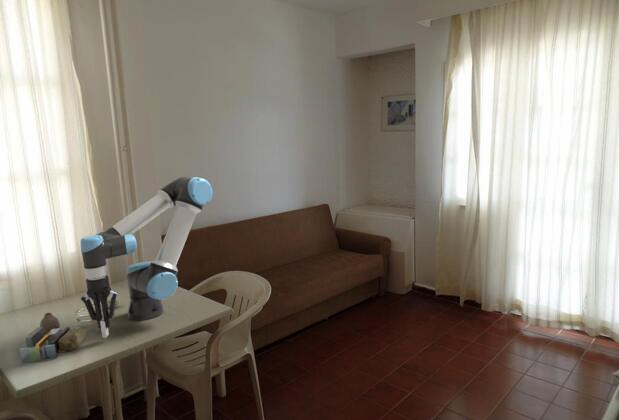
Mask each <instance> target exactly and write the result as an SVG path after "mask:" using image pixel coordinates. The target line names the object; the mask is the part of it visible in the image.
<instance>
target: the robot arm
mask: <svg viewBox="0 0 619 420" xmlns="http://www.w3.org/2000/svg"><path fill="white" fill-rule="evenodd" d="M213 193H214V192H213V188H212V185H211V183H210V181H208V180H207V179H205V178H203V177H199V176H196V177H195V176H194V177H188V176H187V177H185V176H182V177H179V178H176V179H174V180H172V181H170V182H169V183H168V184H166V185H165V186H164V187H162V188H161V189H159V190H158V191H157V194H156V195H155V196H153V197H152V198H150V199H149V200H148V201H146V202H145V203H143V204H142V205H140V206H139V207H137V208H136V209H135V210H133V211H132V212H131V213H129V214H128V215H126V216H125V217H123V218H122V219H121V220H119V221H118V222H116V223H115V224H113V225H112V226H111V227H108V229H107V230H105V231H100V232H99V231H98V232H97V233H95V234H93V235H88V236H84V237H82V238H81V239H80V252H81V256H82V261H83V262H82V263H83V268H84V270H83V271H84V276H85V279H86V280H85V282H86V290H87V291H86V293H85V295H83V296H82V297H80V300H81V301H82V302H83V304H84V305H85V308H86V310H87V312H88V315H89V316H90V319H91V320H92V321H96V322H97V327H98V329H99V330H100V331H101V336H102V338H103V339H104V338H108V336H109V334H110V333H109V328H110V327H111V323H110V322H111V321H110V319H112V318H113V317H114V316H115V308H116V302H117V301H116V300H117V297H118V295H119V292H118V291H113V290H112V288H111V286H110V281H109V276H108V266H107V259H112V258H117V257H120V256H126V255H130V254H133V253H135V252H136V251H137V247H138V242H137V239H136V237H135V235H134V233H137V232H138V231H140V229H142V228H143V227H145V226H146V225H147V224H149V222H151V221H153V219H155V218H157V217H158V216H159V215H160V214H162V213H164V211H166V210H167V209H172V208H174V207H175V206H176V208H175V211H174V214H173V216H172V219H171V221H170V224H169V227H168V229H167V231H166V235H165V237H164V238H163V241H162V243H161V246H160V249H159V251H158V254H157V256H156V258H155V259H154V260H151V261H150V260H148V261H143V262H137V263H134V264H130V265H129V266H127V267H126V271H125V272H126V274H125V275H126V279H127V280H126V281H127V287H128V294H129V303H128V309H127V318H128V320H131V321H146V320H150V319H154V318H157V317H159V316H160V315H162V314H163V313H164V312H165V307H164V303H163V302H162V300H167V299H168V298H170V297H171V296H173V295H174V293H176V290H177V289H178V287H179V286H178V285H179V281H178V277H177V275H178V273H179V272H178V271H179V270H178V267H177V264H178V261H179V259H180V257H181V254H182V252H183V249H184V247H185V243H186V241H187V239H188V236H189V233H190V231H191V229H192V226H193V224H194V221H195V218H196V217H197V214H199V213H201V212H202V210H203V207H204V205H207V204H209V203H210V202H211V200H212V198H213ZM108 297H110V298H111V299H110V302H109V303H110V304H108ZM91 300H92V301H91ZM92 302H93V303H92ZM108 305H109V306H108Z"/></svg>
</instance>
